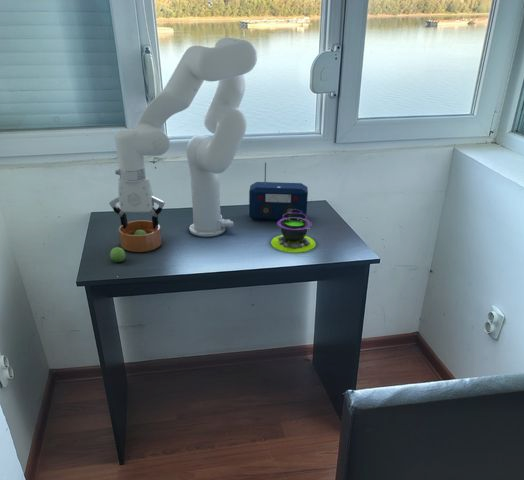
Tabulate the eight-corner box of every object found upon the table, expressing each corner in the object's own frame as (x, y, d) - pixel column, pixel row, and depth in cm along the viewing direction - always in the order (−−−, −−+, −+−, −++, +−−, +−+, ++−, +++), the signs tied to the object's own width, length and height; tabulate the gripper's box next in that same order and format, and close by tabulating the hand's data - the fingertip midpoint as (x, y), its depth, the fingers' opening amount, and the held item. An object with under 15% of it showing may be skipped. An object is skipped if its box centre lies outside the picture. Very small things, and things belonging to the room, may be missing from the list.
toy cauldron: (324, 243, 175) (327, 211, 169) (296, 256, 166) (297, 224, 160) (290, 231, 184) (292, 200, 177) (261, 243, 175) (262, 211, 168)
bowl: (164, 237, 177) (163, 220, 174) (157, 253, 166) (156, 236, 163) (126, 236, 177) (123, 219, 174) (116, 253, 166) (114, 235, 163)
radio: (249, 221, 191) (249, 166, 179) (250, 213, 198) (250, 159, 186) (305, 223, 190) (309, 167, 178) (305, 214, 197) (309, 160, 186)
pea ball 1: (127, 258, 163) (125, 244, 161) (124, 264, 160) (122, 251, 157) (113, 258, 163) (111, 244, 161) (109, 264, 160) (107, 250, 157)
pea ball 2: (149, 240, 173) (148, 227, 171) (147, 246, 170) (145, 233, 167) (135, 240, 173) (134, 227, 171) (132, 246, 170) (131, 232, 167)
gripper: (101, 177, 156) (111, 231, 166) (159, 178, 155) (165, 231, 165) (107, 170, 162) (116, 222, 172) (163, 170, 162) (168, 223, 171)
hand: (140, 227), depth 168 cm, fingers open, 9 cm apart
